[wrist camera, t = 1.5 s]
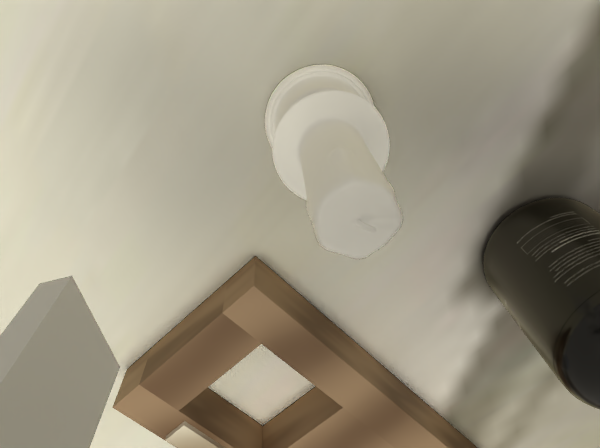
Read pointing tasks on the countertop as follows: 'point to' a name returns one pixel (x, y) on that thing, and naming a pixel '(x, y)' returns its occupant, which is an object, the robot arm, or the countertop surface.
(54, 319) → the robot arm
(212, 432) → the rack block
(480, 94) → the countertop surface
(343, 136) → the candle
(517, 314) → the supplement bottle
